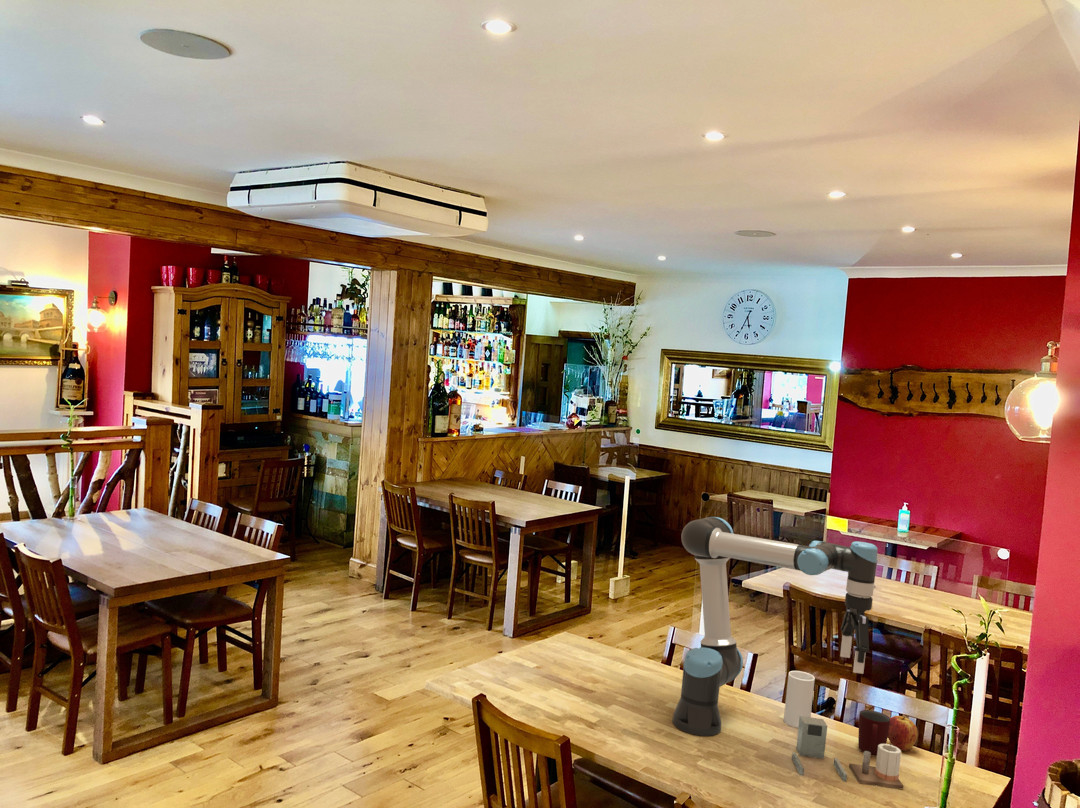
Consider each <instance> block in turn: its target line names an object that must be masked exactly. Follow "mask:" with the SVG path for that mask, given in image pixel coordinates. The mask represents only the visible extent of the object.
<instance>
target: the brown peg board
mask: <svg viewBox="0 0 1080 808" xmlns="http://www.w3.org/2000/svg"><path fill="white" fill-rule="evenodd" d="M871 756H872V755H871V753H870V752H869V751H864V753H863V758H862V764H857V763H849V764H848V765H849V766H848V767H849V769H850V770H851V773H852V774H853V775H854V777H855V779H856V780H857V782H858V783H859V784H863V785H868V786H876V785H877V786H878V787H883V786H885V787H884V788H890V787H893V788H892V789H897V788H903V789H904V788H905V787H904V786H905V785H903V783H902V782H901V780H900V778H899V779H898V780H896V781H888V780H884V779H882V778H880V777H878V776H877V775H876V774H875V767H876V766H871V765H870V763H871V762H870V761H871Z"/></svg>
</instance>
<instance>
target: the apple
mask: <svg viewBox="0 0 1080 808" xmlns="http://www.w3.org/2000/svg"><path fill="white" fill-rule="evenodd" d="M889 718H890V727H889V732H888V737H887V739H888V741H889V743H890V745H893V746H895V747H898V748H899V749H900V750H901V751H902V752H903V751H910V750H911V749H913V746H914V745H915V743H916V742H917V740H918V734H919V731H918V728H917V725H916V724H915V722H914V721H912V720H911V719H910V718H908V717H906V716H902V715H893V716H891V717H889Z"/></svg>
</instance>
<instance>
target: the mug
mask: <svg viewBox="0 0 1080 808" xmlns="http://www.w3.org/2000/svg"><path fill="white" fill-rule="evenodd" d="M890 718H891V717H890V716H889V715H887V714H885V713H882V712H880V711H876V710H871V709H863V710H860V711H859V715H858V747H857V748H858V750H859V751H860V752H862V753H863V754H864V751H869V752H870V753H871V756H872V757H877V751H878V745H879V744H887V742H888V732H889V727H890Z"/></svg>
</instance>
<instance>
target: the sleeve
mask: <svg viewBox="0 0 1080 808" xmlns="http://www.w3.org/2000/svg"><path fill="white" fill-rule="evenodd" d="M901 756H902V750H900V749H899V748H898V747H895V746H893V745H892V744H891V743H890V744H889V743H886V744H879V745H878V751H877V756H876V761H875V766H874V767H875V774H876V775H877V776H878V777H880V778H882V779H884V780H888V781H896V780H898V779H899V780H900V767H901V766H900V765H901V758H902V757H901Z"/></svg>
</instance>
